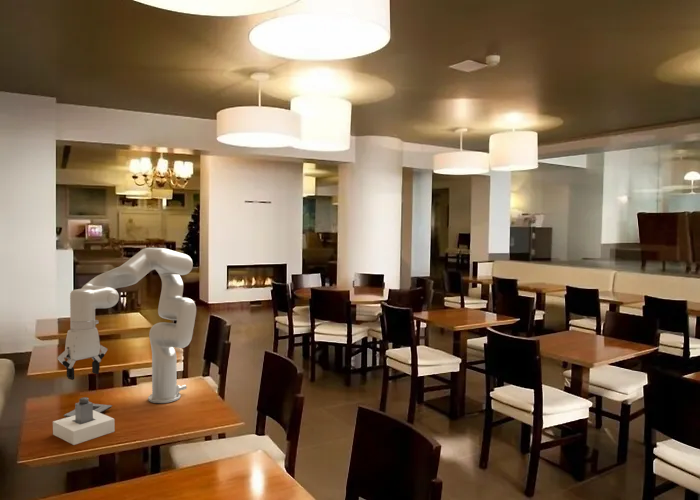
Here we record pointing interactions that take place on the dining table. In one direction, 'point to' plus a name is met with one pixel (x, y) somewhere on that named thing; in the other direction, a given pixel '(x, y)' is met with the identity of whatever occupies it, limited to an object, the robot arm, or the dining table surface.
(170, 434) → the dining table surface
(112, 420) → the socket
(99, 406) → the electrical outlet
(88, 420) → the plug
